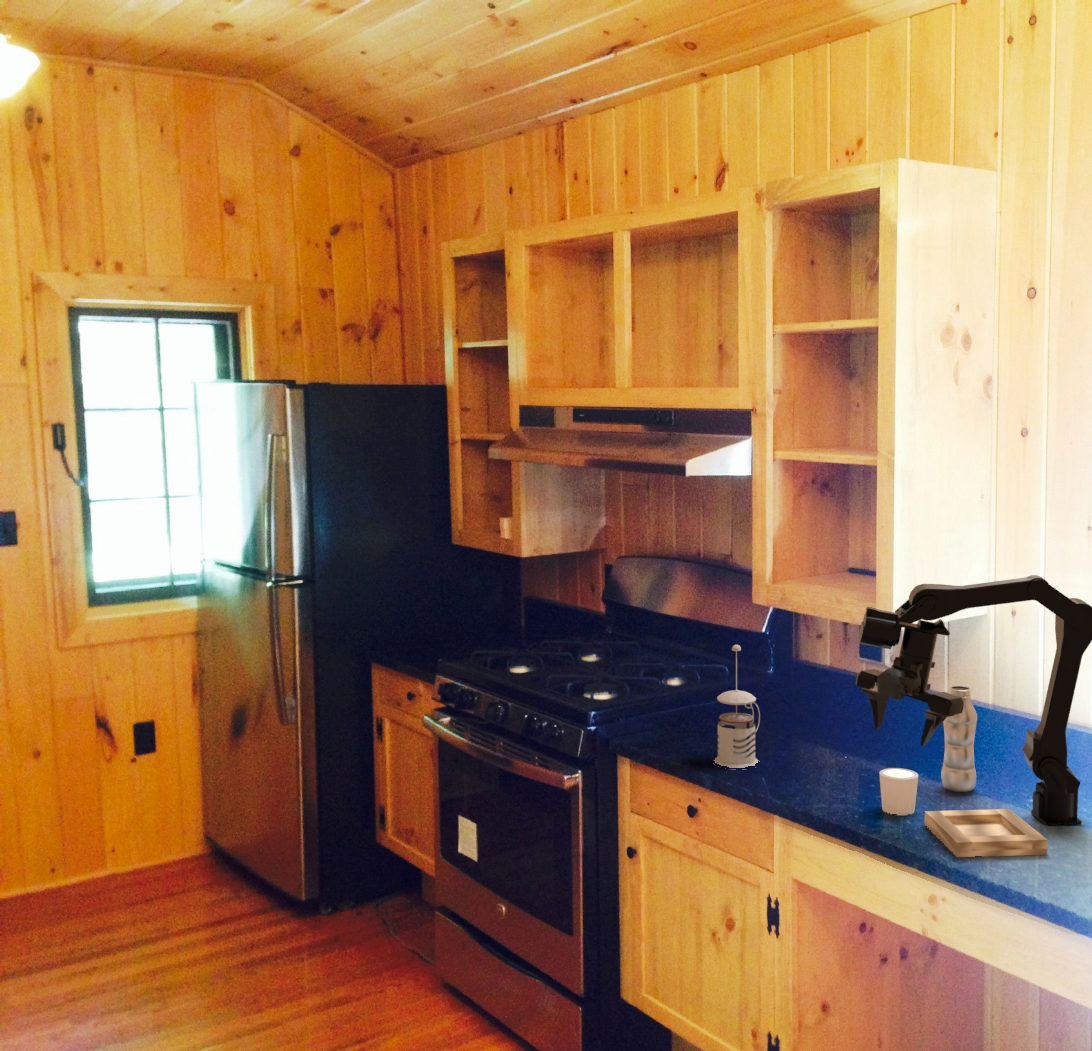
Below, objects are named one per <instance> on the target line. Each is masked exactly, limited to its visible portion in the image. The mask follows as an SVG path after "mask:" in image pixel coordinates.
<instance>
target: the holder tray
mask: <svg viewBox="0 0 1092 1051" xmlns="http://www.w3.org/2000/svg"><path fill="white" fill-rule="evenodd" d="M924 826H925V827H926V826H927V827H926V828H927V829H928V828H929V829H928V830H929V831H930V830H931V831H930V832H931V833H932V834H933V835H934V836H935V835H936V836H935V837H936V838H937V839H938V840H939V839H940V840H939V841H940V842H941V841H942V842H941V843H942V844H943V843H944V844H943V845H944V846H945V847H946V848H947V849H948V850H949V851H950V852H951V853H952V852H953V853H952V854H953V855H954V856H955V857H956V858H973V857H975V856H982V857H1008V856H1009V857H1011V856H1040V855H1042V856H1044V855H1046V856H1047V855H1048V842H1049V841H1048V838H1046V837H1045V836H1044V835H1042V834H1041V832H1038V831H1037V830H1036V829H1034V828H1033V827H1032V826H1031V825H1029V823H1027V822H1026V821H1025V820H1023V819H1022V818H1021V817H1020V816H1018V815H1017V814H1016V813H1014V811H1012V810H1011V809H1010V808H1001V809H1000V808H998V809H997V808H991V809H969V810H968V809H965V810H963V809H961V810H960V809H959V810H927V811H926V810H925V811H924ZM975 858H976V857H975Z"/></svg>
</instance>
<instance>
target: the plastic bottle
mask: <svg viewBox="0 0 1092 1051" xmlns="http://www.w3.org/2000/svg"><path fill="white" fill-rule="evenodd" d="M949 691H950V692H949V694H952V695H955V696H958V697H961V698H962V700H963V703H964V707H963V712H962V713H960V714H955V715H954V716H950V717H947V718H946V719H945V720H944V721H943V722H942V724H943V731H944V753H943V754H944V756H943V763H942V767H941V772H940V778H941V784H942V785H943V788H944V789H946V790H948V791H951V792H956V793H966V792H971V791H972V790H974V788H975V787H976V784H977V772H976V767H975V752H974V748H975V747H974V746H975V744H974V743H975V734H976V728H977V721H978V714H977V711H976V709H975V707H974V705H973V704H972V702H971V701H970V699H971V698H972V697H971V688H970V687H969V686H964V685H953V686H950V690H949Z"/></svg>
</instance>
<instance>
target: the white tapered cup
mask: <svg viewBox="0 0 1092 1051" xmlns="http://www.w3.org/2000/svg"><path fill="white" fill-rule="evenodd" d="M878 774H879V784H880V785H879V786H880V797H881V798H880V799H881V807H882V808H881V809H882V811H883V812H885V813H886V812H887V813H886V814H889V813H890V814H889V815H892V814H897V815H896V816H909V815H908V814H910V815H913V814H914V813H915V810H916V809H915V808H916V800H917V791H918V784H919V774H918V772H916V771H914V770H913V769H912V770H911V769H907V768H900V767H889V768H884V769H881V770H880V771H879V772H878Z"/></svg>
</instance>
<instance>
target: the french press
mask: <svg viewBox="0 0 1092 1051" xmlns="http://www.w3.org/2000/svg"><path fill="white" fill-rule="evenodd" d="M741 650H742V647H741V646H740V645H739V644H734V645H732V647H731V651H733V652H735V689H734V690H728V691H723V692H722V693H721V694H719V695H718V696H717V697H716V699H717V702H719V703H721V704H724V705H729V706H730V705H731V706H735V712H733V711H732V712H725V713H722V714H720V715H719V716H718V718H719V720H720V721H718V722H717V756H716V757H715V758H714V759H715V760H714V759H713V761H715V763H717V764H719V765H721V766H727V767H729V768H745V767H748V766H755V764H756V763H758V761H759V760H758V758H757V757H756V733H757V731H758V729H759V726H760V722H761V712H760V708H759V705H758V704H757V703H756V700H757V697H755V696H754V695H753V694H752V693H750V692H747V691H746V690H739V689H738V652H740V651H741ZM753 704H754V705H755V706H756V708H757V711H758V723H757V726H756V723H754V720H755V712H754V708H753ZM747 705H749V706H747ZM738 706H744V707H745V708H746V709H751V710H752V714H748V713H745V712H744V713H743V712H742V713H741V712H738ZM747 723H749V728H748V727H747ZM726 725H727V726H732V727H734V728H732V727H724V726H726ZM748 737H749V738H748ZM747 738H748V739H747Z"/></svg>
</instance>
